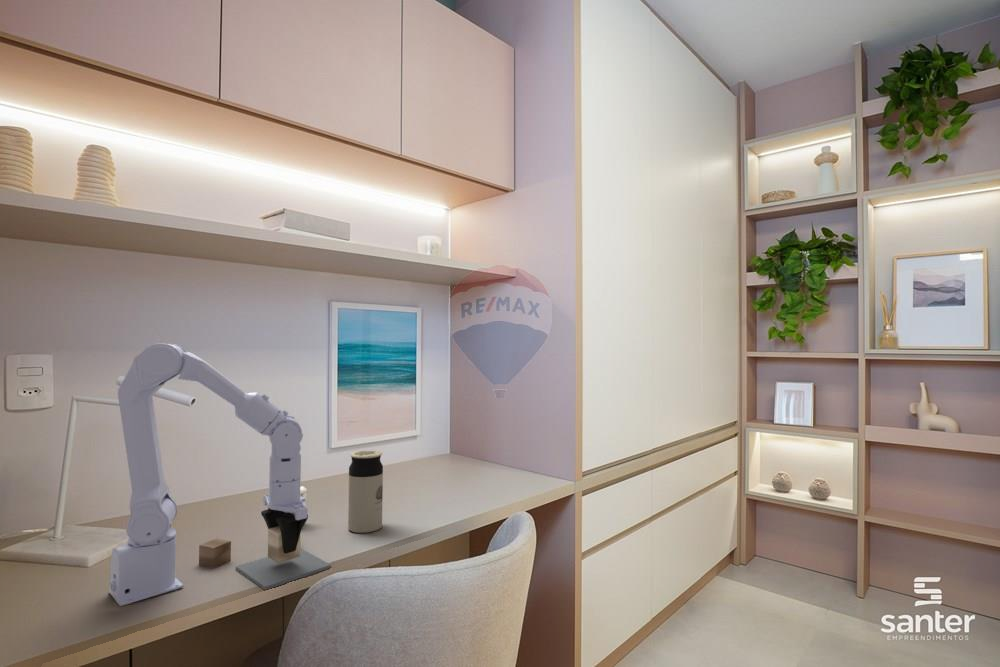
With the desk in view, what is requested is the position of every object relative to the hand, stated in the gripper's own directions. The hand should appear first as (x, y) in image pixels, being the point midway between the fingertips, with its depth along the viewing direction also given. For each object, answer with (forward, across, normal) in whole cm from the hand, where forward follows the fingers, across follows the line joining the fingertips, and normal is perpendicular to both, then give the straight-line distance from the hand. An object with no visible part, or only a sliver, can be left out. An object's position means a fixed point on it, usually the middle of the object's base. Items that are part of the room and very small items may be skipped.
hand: (283, 548), depth 102 cm
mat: (+4, 0, 0) cm, 4 cm away
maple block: (+2, 0, 0) cm, 2 cm away
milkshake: (+4, +23, -14) cm, 27 cm away
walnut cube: (+4, +13, +8) cm, 16 cm away
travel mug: (+4, +8, -24) cm, 26 cm away
